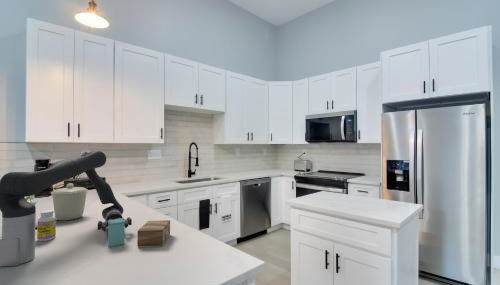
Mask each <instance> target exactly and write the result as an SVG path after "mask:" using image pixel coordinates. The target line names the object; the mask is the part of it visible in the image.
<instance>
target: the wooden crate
mask: <svg viewBox="0 0 500 285" xmlns="http://www.w3.org/2000/svg"><path fill="white" fill-rule="evenodd" d="M170 236H171V220H148V221H147V222H146V223H145V224H143V225H142V226H141V227H140V228H139V229H138V230H137V239H136V241H137V243H136V246H137V248H154V247H153V246H160V247H163V246H164V244H165V242H166V241H167V239H168V238H169V237H170Z"/></svg>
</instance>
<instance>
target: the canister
mask: <svg viewBox="0 0 500 285" xmlns="http://www.w3.org/2000/svg"><path fill="white" fill-rule="evenodd" d="M88 191H89V189H87V188H85V187H83V186H82V187H81V186H75V185H74V183H71V182H70V183H67V184H66V187H62V188H57V189H55V190H53V191H51V192H50V194H51V195H52V203H53V204H52V205H53V211H54V216H55V217H56V221H57V220H58V221H71V220H72V221H73V220H76V219H78V218H79V219H80V218H81V217H83V215H84V212H85V206H86V199H87V192H88Z"/></svg>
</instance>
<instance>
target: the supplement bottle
mask: <svg viewBox="0 0 500 285" xmlns="http://www.w3.org/2000/svg"><path fill="white" fill-rule="evenodd" d="M38 218H39V219H38V225H37V232H36V234H37V235H36V240H37V241H38V242H46V241H50V240H53V239H54V238H56V231H57V230H56V228H57V226H56V225H57V219H56V217H55V212H54V209H48V210H46V209H45V210H42V211H40V217H38Z"/></svg>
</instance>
